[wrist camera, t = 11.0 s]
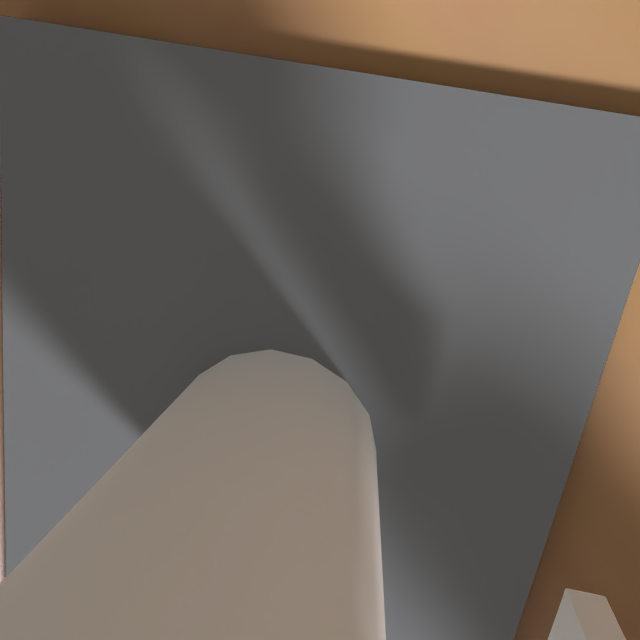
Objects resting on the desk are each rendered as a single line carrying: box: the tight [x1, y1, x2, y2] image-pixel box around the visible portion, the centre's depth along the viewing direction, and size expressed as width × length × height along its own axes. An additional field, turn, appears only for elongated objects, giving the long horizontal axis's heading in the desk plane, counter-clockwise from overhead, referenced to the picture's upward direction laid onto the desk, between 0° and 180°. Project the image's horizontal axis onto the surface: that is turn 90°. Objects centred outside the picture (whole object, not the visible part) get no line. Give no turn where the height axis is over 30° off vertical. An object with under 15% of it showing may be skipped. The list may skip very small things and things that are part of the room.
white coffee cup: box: [0, 349, 386, 640], centre depth 12 cm, size 7×7×10 cm
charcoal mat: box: [0, 15, 640, 640], centre depth 17 cm, size 20×16×1 cm
